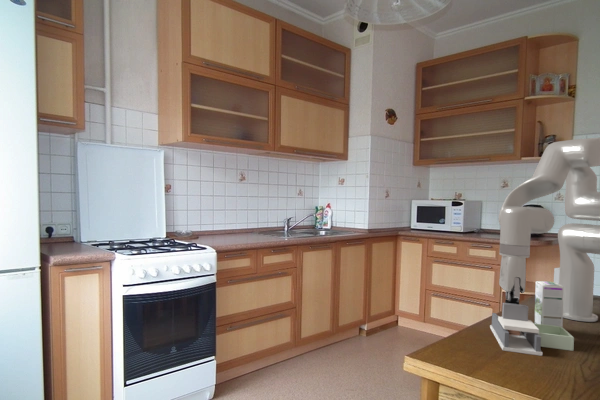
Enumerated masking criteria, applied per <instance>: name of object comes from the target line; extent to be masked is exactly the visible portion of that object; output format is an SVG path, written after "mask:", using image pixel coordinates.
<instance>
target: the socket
mask: <svg viewBox="0 0 600 400" xmlns="http://www.w3.org/2000/svg"><path fill="white" fill-rule="evenodd" d="M533 324H534V325H535V326H536V327H537V328H538V329H539V333H538V334H539V335H540V336H541V347H542V348H550V349H558V350H564V351H571V352H572V351H574V350H575V349H574V347H575V346H574V345H575V344H574V343H575V337H574V336H573V335H572V334H571V333H570V332H568V330H566V329H565V328H564V326H563V327H561V326H553V325H544V324H536V323H534V322H533Z"/></svg>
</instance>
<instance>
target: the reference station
mask: <svg viewBox="0 0 600 400" xmlns="http://www.w3.org/2000/svg"><path fill="white" fill-rule="evenodd" d="M498 316H499V315H498V314H497V313H496V312H492V314H491V324H490V325H489V328H490V330H491V332H492V334H493V337H495V339H496V341H497V342H498V345H499V347H500V348H501V350H502V351H505V352H512V353H518V354H519V353H520V354H526V355H533V356H543V351H542V350H541V336H540V335H539V334H538V333H531V332H523V331H515V330H507V329H504V328H503V327H502V325H501V324H500V322H499V321H498Z"/></svg>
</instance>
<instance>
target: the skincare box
mask: <svg viewBox="0 0 600 400" xmlns="http://www.w3.org/2000/svg"><path fill="white" fill-rule="evenodd" d="M553 270H554V272H553V282H555V283H557V284H559V275H560V267H554V268H553Z"/></svg>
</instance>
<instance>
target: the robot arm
mask: <svg viewBox="0 0 600 400" xmlns="http://www.w3.org/2000/svg"><path fill="white" fill-rule="evenodd" d="M599 166H600V136H599V137H590V138H578V139H577V138H575V139H566V140H561V141H555V142H552V143H550V144H548V145H547V146H546V148H545V149H544V150H543V153H542V155H541V157H540V159H539V161H538V164H537V166H536V168H535V170H534V172H533V175H532V176H531V177H530V178H528V179H527V180H525V181H523V182H522V183H520V184H518V186H516V187H515V188H514V189H512V190H511V191H510V192H509V193H508V195H506V197H505V199H504V201H503V203H502V205H501V208H500V209H499V213H498V223H499V227H500V230H499V231H500V234H499V253H498V254H499V256H501V259H500V266H499V267H500V268H499V281H498V284H499V287H501V289H503V291H504V292H505V300H504V301H505V302H504V303H511V304H520V297H521V294H524V293H525V291H526V278H527V277H526V276H527V263H526V262H527V259H528V258H530V255H531V234H544V233H548V232H549V231H551V230H552V229H553V227H554V224H555V217H554V214H553V213H552V212H551V211H550V210H549V209H547V208H544V207H536V206H535V207H534V206H524V205H525V204H528V203H529V202H531V201H533V200H535V199H539V198H543V197H546V196H548V195H552V194H555V193H557V192H559V191H560V190H562V189H563V187H564V184H565V194H564V195H565V197H564V212H565V215H566V216H567V217H568V218H570V219H572V220H582V221H596V222H599V221H600V191H598V177H597V174H596V172H595V171H594V169H592V168H594V167H599ZM557 241H558V242H557V243H558V247H559V268H560V275H559V285H561V286H563V287H564V290H563V319H568V320H573V321H577V322H587V323H588V322H589V323H593V322H597V321H599V316H598V315H597V314H595V313H593V308H594V307H593V306H594V305H593V304H594V287H595V286H594V281H595V265H594V262H593V260H592V259H591V258H590V256H589V255H588V254H593V255H600V224H589V223H588V224H587V223H575V222H573V223H566V224H564V225H563V224H562V225H561V226H560V227H559V229H558V232H557ZM520 293H521V294H520Z"/></svg>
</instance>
